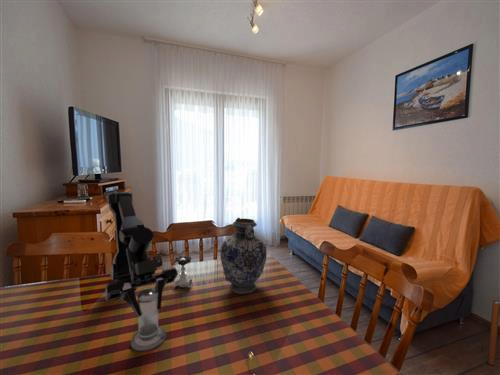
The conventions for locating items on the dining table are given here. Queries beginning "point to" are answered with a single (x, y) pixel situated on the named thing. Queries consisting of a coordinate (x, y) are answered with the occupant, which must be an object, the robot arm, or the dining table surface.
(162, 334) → the silver flat disc
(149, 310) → the grey piece
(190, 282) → the valve
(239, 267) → the decorative vase
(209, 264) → the dining table surface
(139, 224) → the robot arm
